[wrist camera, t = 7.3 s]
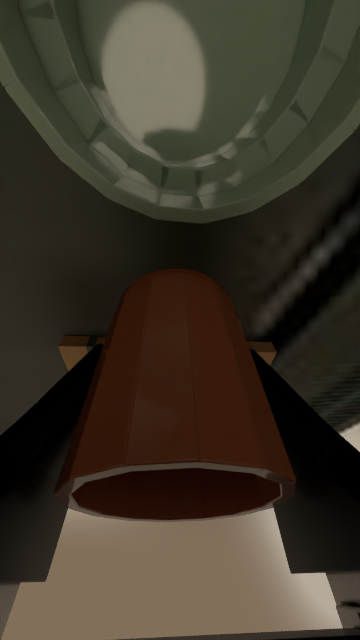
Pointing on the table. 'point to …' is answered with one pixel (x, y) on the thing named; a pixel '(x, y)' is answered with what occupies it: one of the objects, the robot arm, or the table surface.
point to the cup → (175, 413)
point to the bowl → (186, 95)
